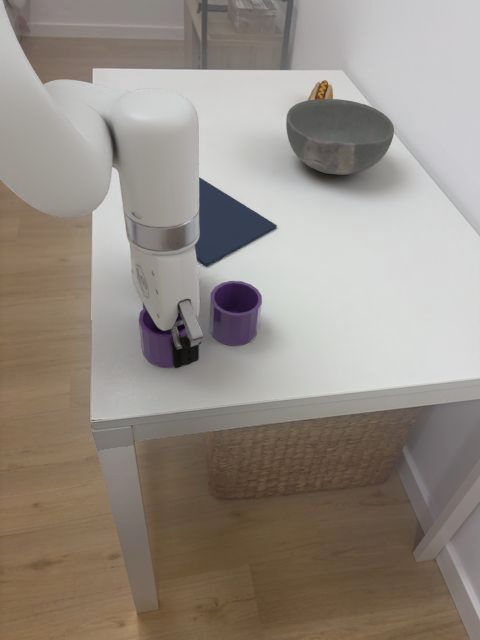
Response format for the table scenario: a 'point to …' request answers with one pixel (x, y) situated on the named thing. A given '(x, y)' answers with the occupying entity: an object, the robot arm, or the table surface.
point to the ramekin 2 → (235, 312)
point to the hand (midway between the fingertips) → (170, 336)
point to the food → (321, 91)
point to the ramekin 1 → (157, 340)
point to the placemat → (225, 224)
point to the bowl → (338, 135)
